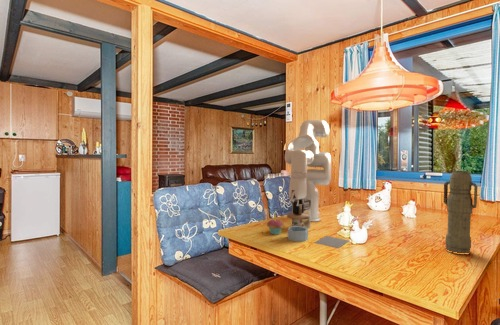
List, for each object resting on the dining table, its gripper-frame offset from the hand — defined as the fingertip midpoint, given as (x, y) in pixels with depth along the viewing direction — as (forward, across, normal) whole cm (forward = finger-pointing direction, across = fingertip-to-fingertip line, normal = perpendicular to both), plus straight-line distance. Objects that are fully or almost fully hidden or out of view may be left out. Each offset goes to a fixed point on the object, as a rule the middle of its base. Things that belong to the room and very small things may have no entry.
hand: (298, 212), depth 140 cm
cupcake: (+13, -1, -14) cm, 19 cm away
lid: (+2, 0, 0) cm, 2 cm away
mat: (+13, -6, +15) cm, 21 cm away
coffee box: (+13, -18, -8) cm, 24 cm away
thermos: (+13, -30, +62) cm, 70 cm away
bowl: (+13, 0, 0) cm, 13 cm away
